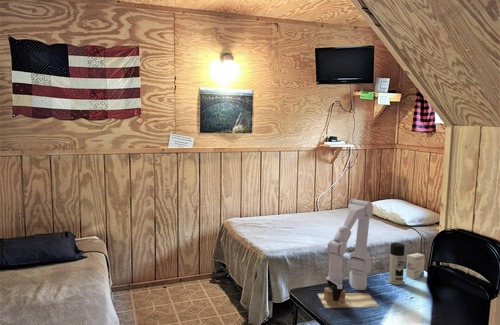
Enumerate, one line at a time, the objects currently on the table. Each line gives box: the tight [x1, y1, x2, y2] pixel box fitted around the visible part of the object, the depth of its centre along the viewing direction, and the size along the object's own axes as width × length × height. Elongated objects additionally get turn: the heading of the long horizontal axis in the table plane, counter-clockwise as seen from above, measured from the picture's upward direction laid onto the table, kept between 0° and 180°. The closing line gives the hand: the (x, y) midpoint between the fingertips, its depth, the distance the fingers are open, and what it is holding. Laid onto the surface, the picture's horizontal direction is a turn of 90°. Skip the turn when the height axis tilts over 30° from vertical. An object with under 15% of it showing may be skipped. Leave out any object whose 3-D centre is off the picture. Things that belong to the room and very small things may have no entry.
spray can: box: [388, 241, 406, 286], centre depth 201 cm, size 7×7×20 cm
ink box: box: [405, 252, 426, 280], centre depth 211 cm, size 9×5×12 cm, turn 119°
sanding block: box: [323, 286, 346, 303], centre depth 176 cm, size 4×8×5 cm, turn 94°
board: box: [317, 292, 381, 309], centre depth 178 cm, size 14×24×2 cm, turn 94°
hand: (334, 298), depth 176 cm, fingers closed on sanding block, 4 cm apart
